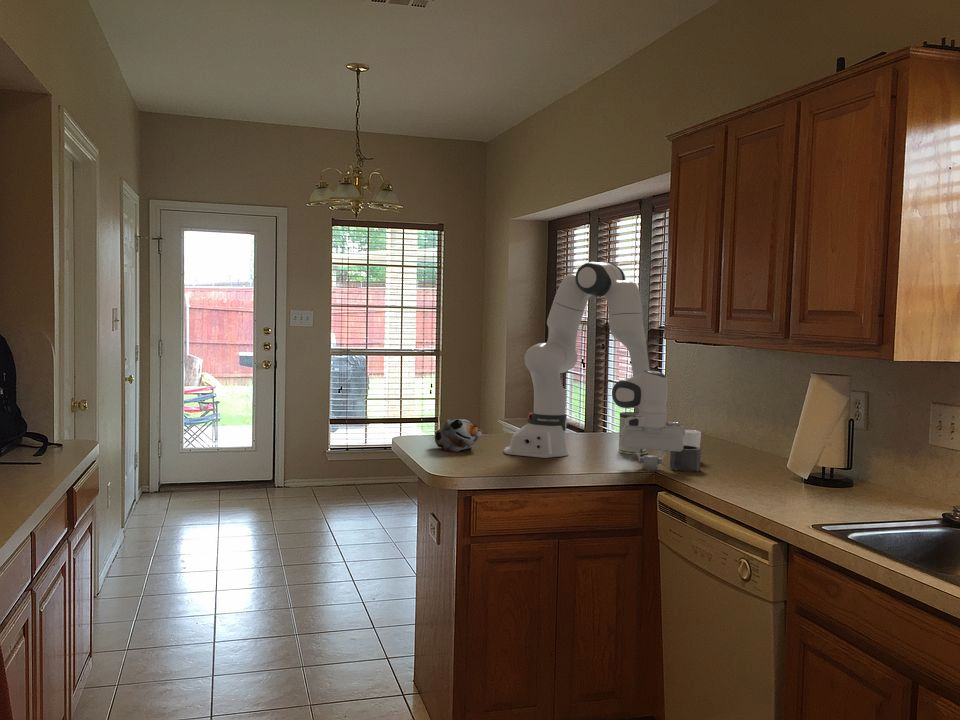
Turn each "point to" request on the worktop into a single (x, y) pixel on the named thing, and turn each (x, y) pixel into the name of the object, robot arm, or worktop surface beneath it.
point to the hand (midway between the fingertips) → (650, 463)
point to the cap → (650, 462)
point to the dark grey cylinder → (686, 458)
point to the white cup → (692, 438)
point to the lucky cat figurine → (457, 435)
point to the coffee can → (622, 424)
